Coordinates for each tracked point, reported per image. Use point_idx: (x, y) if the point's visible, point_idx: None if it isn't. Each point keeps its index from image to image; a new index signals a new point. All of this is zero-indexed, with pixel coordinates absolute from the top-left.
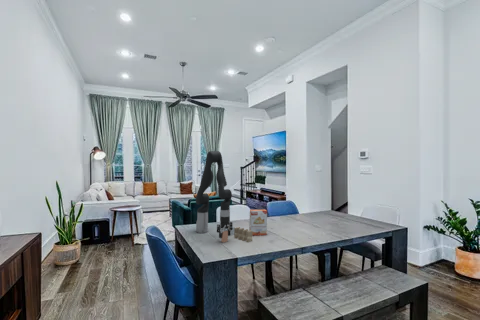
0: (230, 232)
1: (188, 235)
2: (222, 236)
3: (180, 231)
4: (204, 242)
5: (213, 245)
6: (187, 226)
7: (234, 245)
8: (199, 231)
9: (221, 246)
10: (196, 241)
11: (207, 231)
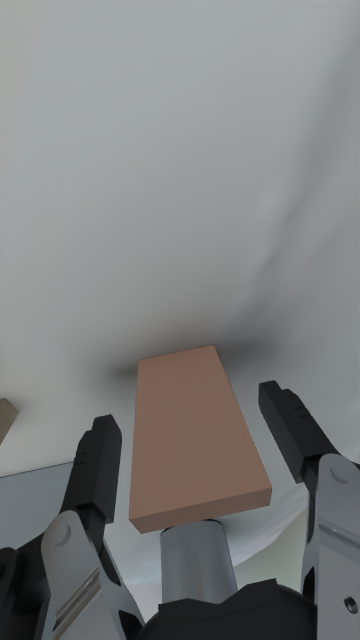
0: (21, 504)
1: (290, 506)
2: (237, 409)
3: (273, 538)
4: (331, 405)
5: (351, 312)
6: None
7: (141, 144)
8: (222, 534)
9: (325, 231)
10: (347, 435)
11: (170, 532)
